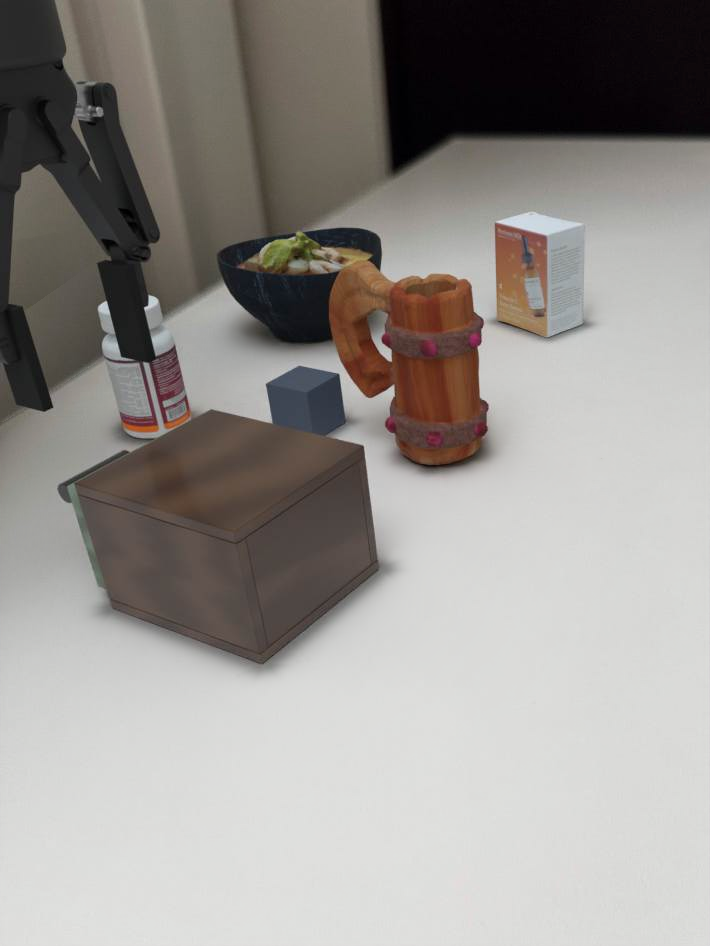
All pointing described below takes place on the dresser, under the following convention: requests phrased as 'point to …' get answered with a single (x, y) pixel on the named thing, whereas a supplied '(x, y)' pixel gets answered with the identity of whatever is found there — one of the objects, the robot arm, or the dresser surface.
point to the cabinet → (232, 530)
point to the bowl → (294, 277)
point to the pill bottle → (146, 379)
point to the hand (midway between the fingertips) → (88, 380)
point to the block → (307, 400)
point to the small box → (540, 273)
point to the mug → (415, 357)
